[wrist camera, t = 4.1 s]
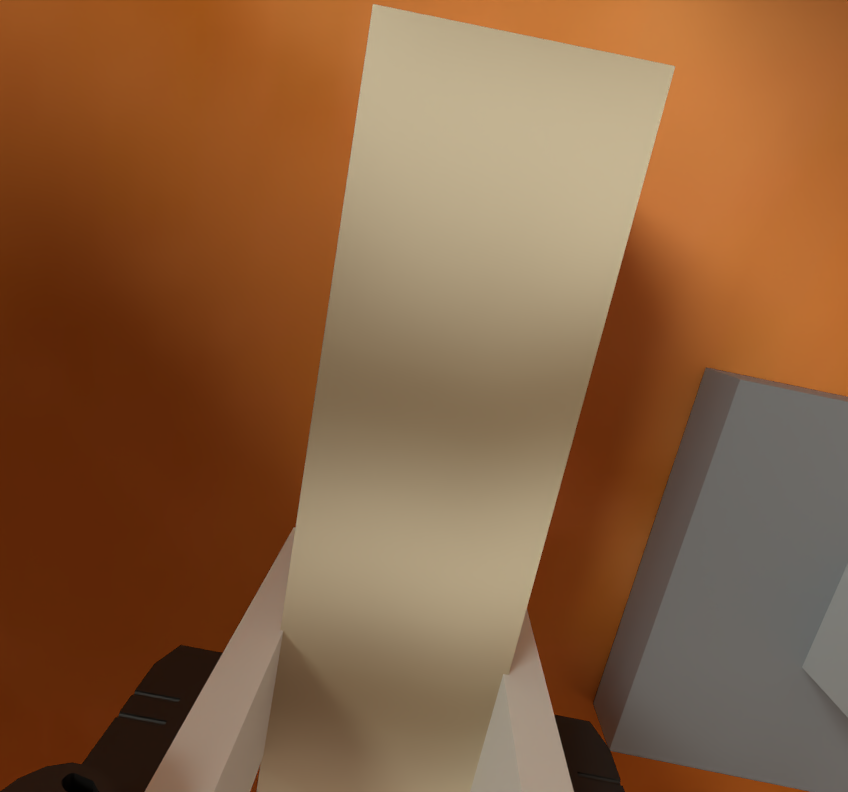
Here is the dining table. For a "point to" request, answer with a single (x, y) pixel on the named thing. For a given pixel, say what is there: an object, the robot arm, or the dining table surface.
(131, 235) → the dining table surface
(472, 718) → the beam
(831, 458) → the fulcrum
